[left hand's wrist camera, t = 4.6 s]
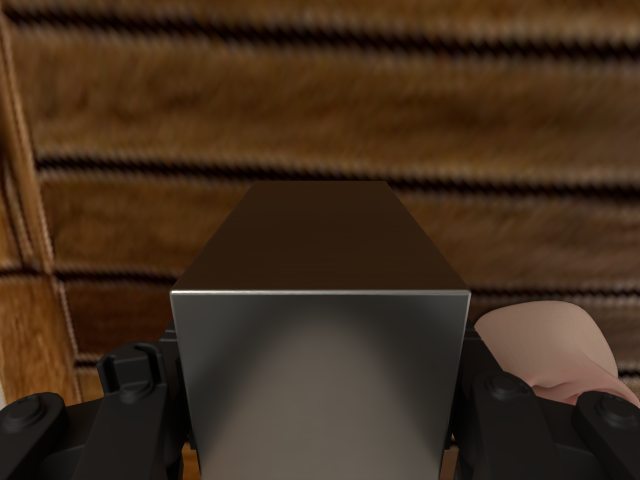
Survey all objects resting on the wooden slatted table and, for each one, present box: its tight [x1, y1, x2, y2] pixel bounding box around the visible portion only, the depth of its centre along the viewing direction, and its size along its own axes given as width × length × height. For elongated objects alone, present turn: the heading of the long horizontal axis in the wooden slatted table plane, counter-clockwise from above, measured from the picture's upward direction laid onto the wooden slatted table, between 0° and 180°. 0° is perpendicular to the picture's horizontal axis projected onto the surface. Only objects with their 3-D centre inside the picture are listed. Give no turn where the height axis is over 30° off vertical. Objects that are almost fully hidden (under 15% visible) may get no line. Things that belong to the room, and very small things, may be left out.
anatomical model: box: [474, 301, 640, 408], centre depth 29 cm, size 13×4×12 cm
